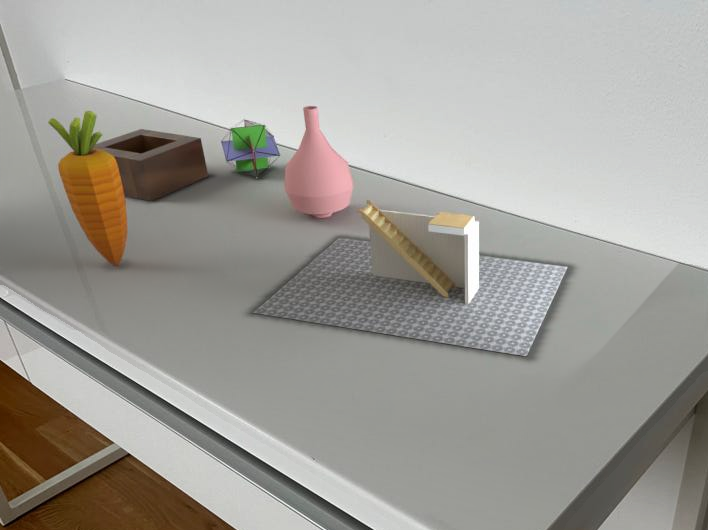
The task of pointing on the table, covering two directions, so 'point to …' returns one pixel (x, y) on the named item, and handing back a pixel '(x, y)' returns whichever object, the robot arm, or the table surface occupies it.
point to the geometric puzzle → (250, 147)
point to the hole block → (156, 162)
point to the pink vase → (317, 173)
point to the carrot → (94, 188)
